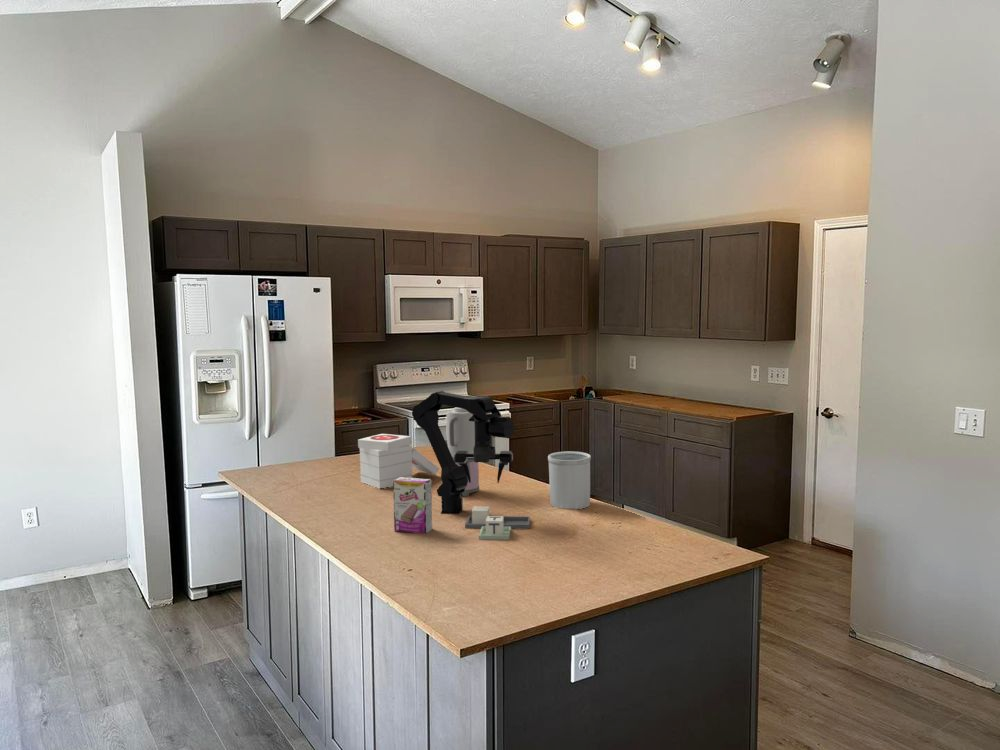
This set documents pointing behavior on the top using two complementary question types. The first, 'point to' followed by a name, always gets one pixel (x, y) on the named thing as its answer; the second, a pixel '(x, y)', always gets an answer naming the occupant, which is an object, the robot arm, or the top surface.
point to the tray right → (517, 522)
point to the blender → (462, 442)
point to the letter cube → (495, 525)
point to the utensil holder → (569, 479)
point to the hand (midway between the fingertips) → (484, 482)
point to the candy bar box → (412, 505)
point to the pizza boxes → (390, 459)
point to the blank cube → (480, 514)
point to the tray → (494, 537)
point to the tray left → (470, 525)
